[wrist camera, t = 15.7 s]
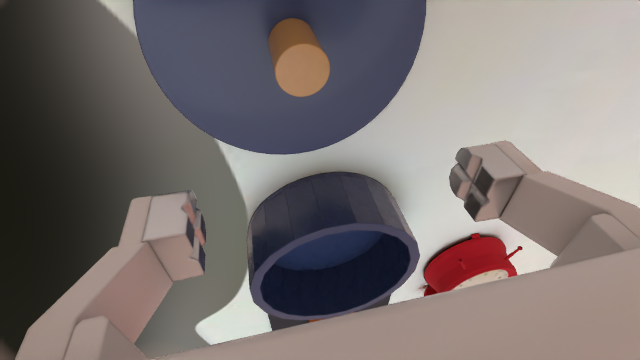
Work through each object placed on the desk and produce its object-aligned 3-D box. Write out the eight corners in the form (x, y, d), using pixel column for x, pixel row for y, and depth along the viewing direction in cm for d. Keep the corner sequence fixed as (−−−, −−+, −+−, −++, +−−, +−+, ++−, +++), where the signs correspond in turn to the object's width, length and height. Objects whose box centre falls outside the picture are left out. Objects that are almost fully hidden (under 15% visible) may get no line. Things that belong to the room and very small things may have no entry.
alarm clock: (540, 247, 35) (509, 332, 43) (501, 213, 41) (480, 294, 48) (450, 266, 34) (435, 351, 42) (422, 229, 39) (414, 310, 47)
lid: (72, -157, 12) (14, -167, 9) (447, -157, 14) (515, -165, 11) (188, 157, 23) (181, 207, 19) (395, 130, 25) (422, 170, 22)
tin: (233, 186, 25) (235, 244, 21) (406, 160, 27) (437, 209, 23) (258, 280, 35) (263, 332, 31) (384, 256, 37) (403, 302, 33)
